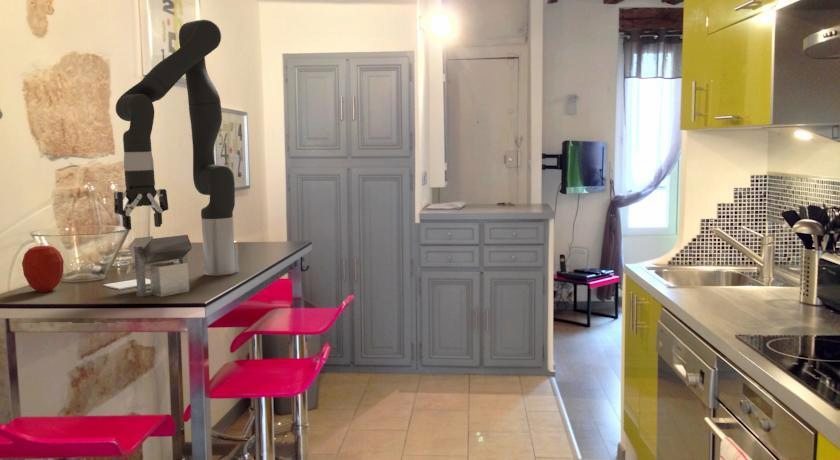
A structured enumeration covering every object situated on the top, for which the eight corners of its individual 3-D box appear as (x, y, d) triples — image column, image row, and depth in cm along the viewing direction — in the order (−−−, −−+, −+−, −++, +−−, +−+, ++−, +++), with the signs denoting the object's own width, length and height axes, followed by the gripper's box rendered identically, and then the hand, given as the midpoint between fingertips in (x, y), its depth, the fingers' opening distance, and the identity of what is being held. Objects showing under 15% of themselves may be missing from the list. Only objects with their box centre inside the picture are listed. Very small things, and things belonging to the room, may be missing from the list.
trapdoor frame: (199, 289, 190) (196, 242, 188) (150, 298, 179) (146, 248, 178) (184, 286, 195) (181, 240, 193) (136, 295, 184) (132, 246, 183)
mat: (143, 279, 208) (143, 278, 208) (160, 283, 201) (160, 281, 201) (103, 285, 199) (103, 284, 199) (119, 289, 193) (119, 288, 193)
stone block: (160, 258, 193) (152, 236, 195) (142, 261, 190) (135, 238, 191) (153, 266, 197) (145, 244, 198) (136, 268, 193) (128, 246, 195)
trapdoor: (193, 247, 186) (188, 234, 187) (155, 252, 178) (150, 238, 179) (165, 276, 198) (160, 264, 199) (128, 282, 190) (124, 269, 191)
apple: (74, 288, 197) (70, 239, 195) (43, 295, 188) (39, 243, 186) (46, 286, 201) (42, 238, 199) (15, 293, 191) (10, 243, 190)
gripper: (119, 169, 183) (124, 231, 185) (170, 167, 193) (174, 226, 195) (106, 170, 188) (111, 230, 190) (156, 168, 198) (160, 225, 200)
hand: (143, 228), depth 192 cm, fingers open, 8 cm apart
